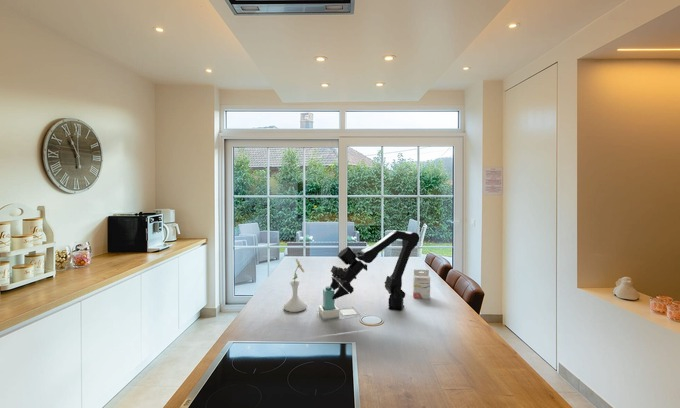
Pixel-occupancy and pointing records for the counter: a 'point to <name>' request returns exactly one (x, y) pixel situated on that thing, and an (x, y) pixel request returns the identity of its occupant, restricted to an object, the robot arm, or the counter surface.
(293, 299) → the flower in vase
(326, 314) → the grey board with socket
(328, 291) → the plug
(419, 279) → the ink cartridge box
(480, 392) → the counter surface
